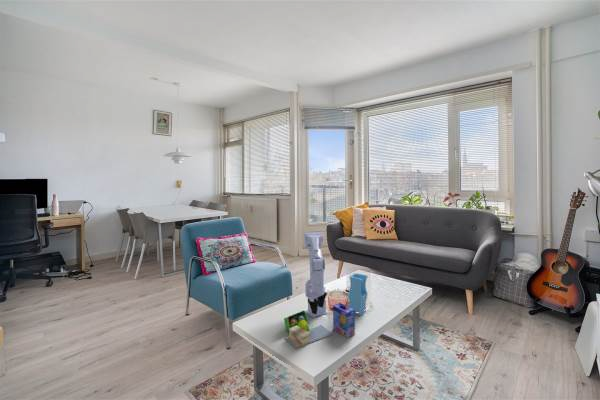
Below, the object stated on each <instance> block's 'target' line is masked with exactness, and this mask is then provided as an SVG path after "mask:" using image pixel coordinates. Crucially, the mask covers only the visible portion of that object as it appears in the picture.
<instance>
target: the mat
mask: <svg viewBox="0 0 600 400" xmlns="http://www.w3.org/2000/svg"><path fill="white" fill-rule="evenodd" d="M308 332H309V333H310V341H309V342H308V343H306V344H304V345H301V344H300V343H298V342H297V341H295V340H293V339H292V338H290V337H289V335H287V336H285V337H284V339H285V341H287V342H288V343H289V344H290V346H292V347H293V348H294V349H295V350H296V349H299V348H302V347H304V346H307V345H309V344H312V343H314V342H317V341H320V340H323V339H325V338H328V337H331V336H333V335H334V333H333V332H332V331H330V330H329V329H327V328H326V327H324V325H322V324H321V325H317V326H314V327H311V328H309V331H308Z"/></svg>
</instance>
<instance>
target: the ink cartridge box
mask: <svg viewBox="0 0 600 400" xmlns="http://www.w3.org/2000/svg"><path fill="white" fill-rule="evenodd" d="M332 308H333V309H332V310H333V311H332V315H333V317H332V326H333V327H332V328H333V331H336V332H337V333H339V334H341V335H342V336H344V337H346V338H349V337H351V336H353V335H356V325H355V324H356V319H355V318H356V316H355V315H356V314H355V310H354V309H352V308H350V307H349V305H348V306H347V305H346V304H344V303H341V302H338V303H337V304H333V305H332Z"/></svg>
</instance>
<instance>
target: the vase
mask: <svg viewBox="0 0 600 400" xmlns="http://www.w3.org/2000/svg"><path fill="white" fill-rule="evenodd" d="M367 278H368V275H366V274H362V273H358V272H354V273H352V274H350V275H349V280H350V281H349V283H350V287H349V291H348V294H347V298H348V301H349V302H348V304H349V305H348V307H350V308H352V309H354V310H355V315H357V316H362V315H364V314H365V313H366V312H367V305H366V304H367V298H368V291H367V288H366V287H367V286H366V282H367ZM365 309H366V310H365ZM364 310H365V311H364ZM356 312H359V313H356Z"/></svg>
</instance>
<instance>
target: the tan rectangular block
mask: <svg viewBox="0 0 600 400" xmlns="http://www.w3.org/2000/svg"><path fill="white" fill-rule="evenodd" d="M288 332H289V334H288V336H289V337H290V338H292V339H293V340H295V341H297V342H298V343H300V344H301V345H304V344H306V343H308V342H309V341H310V333H309V332H307V331H306V330H304V329H302V328H300V327H299V326H297V325H296V326H294V327H292V328H290V329H289V331H288ZM304 346H305V345H304Z"/></svg>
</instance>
